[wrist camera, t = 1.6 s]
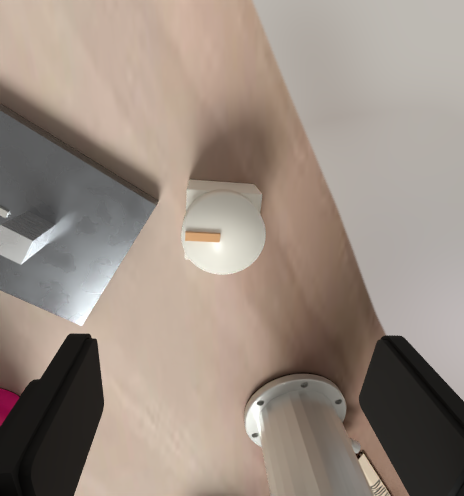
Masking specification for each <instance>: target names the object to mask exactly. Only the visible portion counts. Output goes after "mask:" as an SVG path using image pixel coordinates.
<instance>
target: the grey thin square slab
mask: <svg viewBox="0 0 464 496" xmlns="http://www.w3.org/2000/svg"><path fill="white" fill-rule="evenodd" d="M157 203H158V200H156V199H155V198H153V197H151V196H150V195H148V194H146V193H145V192H143V191H142V190H140V189H138V188H137V187H135V186H133V185H132V184H130V183H129V182H127V181H125V180H124V179H122V178H120V177H119V176H117V175H116V174H114V173H112V172H111V171H109V170H107V169H106V168H104V167H103V166H101V165H99V164H98V163H96V162H94V161H93V160H91V159H90V158H88V157H86V156H85V155H83V154H81V153H80V152H78V151H77V150H75V149H73V148H72V147H70V146H68V145H67V144H65V143H64V142H62V141H60V140H59V139H57V138H55V137H54V136H52V135H51V134H49V133H47V132H46V131H44V130H42V129H41V128H39V127H38V126H36V125H34V124H33V123H31V122H29V121H28V120H26V119H25V118H23V117H21V116H20V115H18V114H16V113H15V112H13V111H12V110H10V109H8V108H7V107H5V106H3V105H2V104H0V290H1V291H3V292H5V293H8V294H10V295H12V296H15V297H17V298H19V299H21V300H24V301H26V302H28V303H30V304H33V305H35V306H37V307H39V308H42V309H44V310H46V311H49V312H51V313H53V314H55V315H58V316H60V317H62V318H64V319H67V320H69V321H71V322H74V323H76V324H78V325H80V326H82V325H83V323H84V321H85V320H86V318H87V317H88V315H89V313H90V312H91V310H92V308H93V307H94V305H95V304H96V302H97V300H98V299H99V297H100V296H101V294H102V292H103V291H104V289H105V287H106V286H107V284H108V283H109V281H110V279H111V278H112V276H113V275H114V273H115V271H116V270H117V268H118V266H119V265H120V263H121V262H122V260H123V258H124V257H125V255H126V254H127V252H128V250H129V249H130V247H131V245H132V244H133V242H134V241H135V239H136V237H137V236H138V234H139V233H140V231H141V229H142V228H143V226H144V224H145V223H146V221H147V220H148V218H149V216H150V215H151V213H152V211H153V210H154V208H155V207H156V205H157Z"/></svg>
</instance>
